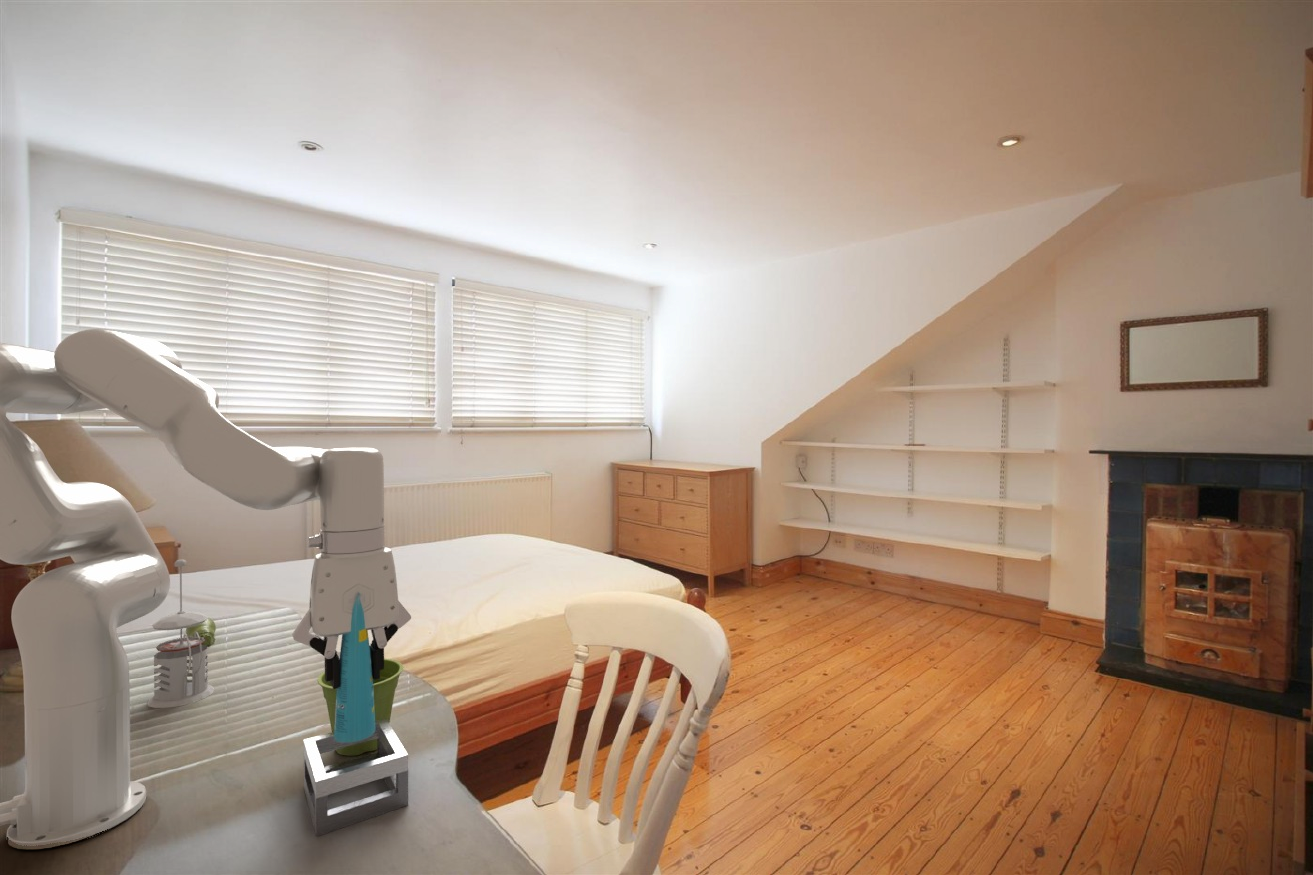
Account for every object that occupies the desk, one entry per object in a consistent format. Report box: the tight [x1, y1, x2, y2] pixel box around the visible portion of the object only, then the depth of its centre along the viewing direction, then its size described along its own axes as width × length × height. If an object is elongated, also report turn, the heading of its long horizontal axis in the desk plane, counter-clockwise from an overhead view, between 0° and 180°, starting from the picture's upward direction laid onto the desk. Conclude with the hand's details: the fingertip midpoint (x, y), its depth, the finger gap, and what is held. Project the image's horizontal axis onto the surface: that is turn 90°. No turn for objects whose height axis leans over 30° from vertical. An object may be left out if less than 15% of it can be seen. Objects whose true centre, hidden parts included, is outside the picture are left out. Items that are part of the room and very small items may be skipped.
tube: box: [334, 594, 375, 743], centre depth 81 cm, size 7×5×19 cm, turn 39°
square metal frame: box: [303, 719, 409, 837], centre depth 81 cm, size 10×12×6 cm
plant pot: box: [317, 657, 404, 757], centre depth 94 cm, size 12×12×11 cm
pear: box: [185, 617, 217, 647], centre depth 141 cm, size 6×5×10 cm
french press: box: [146, 558, 216, 709], centre depth 112 cm, size 10×12×25 cm
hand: (355, 679), depth 81 cm, fingers closed on tube, 4 cm apart
